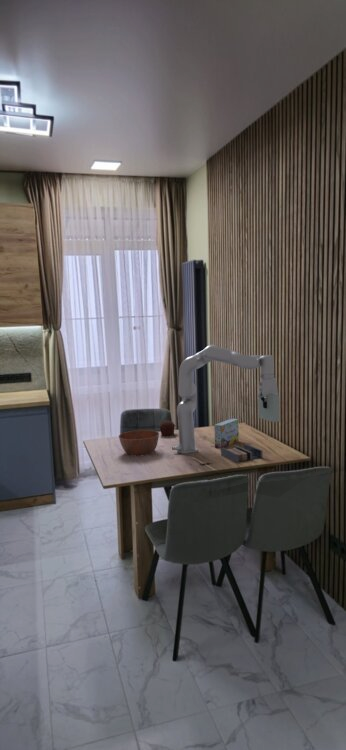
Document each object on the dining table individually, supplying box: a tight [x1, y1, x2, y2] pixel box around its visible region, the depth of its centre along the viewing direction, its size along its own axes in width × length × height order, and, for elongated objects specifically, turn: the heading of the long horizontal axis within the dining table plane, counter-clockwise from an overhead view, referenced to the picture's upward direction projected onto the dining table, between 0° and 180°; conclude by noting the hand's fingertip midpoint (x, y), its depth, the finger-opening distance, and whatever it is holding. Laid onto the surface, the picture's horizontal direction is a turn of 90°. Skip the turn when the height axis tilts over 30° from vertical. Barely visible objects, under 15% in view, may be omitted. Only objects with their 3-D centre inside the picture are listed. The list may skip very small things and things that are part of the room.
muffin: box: [159, 420, 176, 437], centre depth 359 cm, size 12×11×10 cm
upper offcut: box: [226, 447, 247, 458], centre depth 293 cm, size 6×14×2 cm, turn 23°
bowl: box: [118, 429, 160, 457], centre depth 317 cm, size 25×25×11 cm
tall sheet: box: [257, 392, 281, 423], centre depth 299 cm, size 4×16×15 cm, turn 23°
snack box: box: [213, 418, 240, 449], centre depth 325 cm, size 21×6×15 cm, turn 143°
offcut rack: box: [220, 443, 264, 464], centre depth 294 cm, size 17×18×6 cm
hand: (268, 407), depth 299 cm, fingers closed on tall sheet, 4 cm apart
